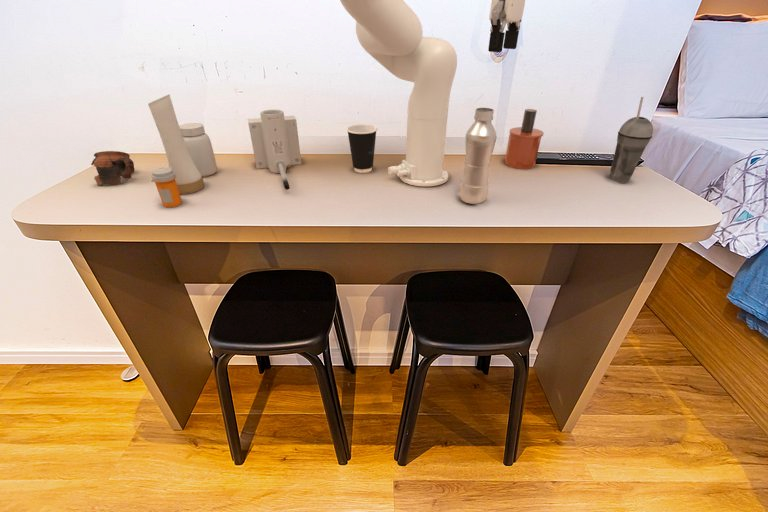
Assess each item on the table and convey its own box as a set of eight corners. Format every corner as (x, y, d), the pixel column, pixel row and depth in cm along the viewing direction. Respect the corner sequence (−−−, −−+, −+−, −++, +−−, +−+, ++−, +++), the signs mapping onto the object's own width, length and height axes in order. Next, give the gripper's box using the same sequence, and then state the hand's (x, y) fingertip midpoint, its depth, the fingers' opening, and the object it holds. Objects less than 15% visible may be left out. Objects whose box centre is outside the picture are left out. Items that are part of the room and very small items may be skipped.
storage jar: (518, 170, 104) (524, 139, 100) (498, 161, 110) (503, 131, 106) (541, 166, 107) (548, 135, 102) (520, 157, 113) (526, 128, 109)
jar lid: (524, 141, 100) (529, 115, 96) (502, 133, 106) (506, 108, 103) (550, 137, 103) (556, 112, 99) (526, 129, 109) (531, 105, 106)
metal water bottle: (488, 197, 90) (502, 107, 79) (484, 209, 84) (499, 114, 73) (460, 193, 91) (471, 104, 80) (455, 205, 86) (465, 112, 75)
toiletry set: (194, 168, 105) (171, 87, 94) (222, 167, 105) (202, 86, 94) (150, 208, 84) (115, 110, 73) (185, 208, 84) (155, 110, 73)
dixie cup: (380, 173, 102) (380, 131, 96) (350, 176, 101) (349, 133, 95) (374, 163, 109) (373, 123, 103) (346, 165, 107) (344, 125, 101)
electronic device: (299, 158, 112) (292, 104, 104) (314, 192, 92) (307, 128, 83) (255, 162, 109) (245, 107, 101) (261, 199, 88) (249, 133, 80)
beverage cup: (639, 186, 95) (672, 101, 84) (607, 184, 96) (636, 99, 86) (629, 175, 101) (659, 94, 90) (599, 173, 102) (625, 93, 92)
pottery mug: (85, 187, 95) (80, 153, 94) (122, 190, 104) (118, 159, 103) (119, 180, 91) (114, 145, 90) (155, 184, 100) (151, 151, 99)
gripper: (512, -34, 93) (500, 46, 102) (484, -40, 81) (473, 52, 90) (544, -36, 89) (529, 48, 98) (519, -42, 77) (504, 54, 87)
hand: (502, 50), depth 94 cm, fingers open, 9 cm apart
